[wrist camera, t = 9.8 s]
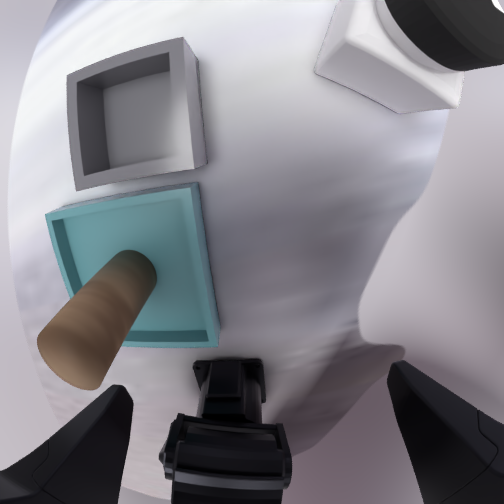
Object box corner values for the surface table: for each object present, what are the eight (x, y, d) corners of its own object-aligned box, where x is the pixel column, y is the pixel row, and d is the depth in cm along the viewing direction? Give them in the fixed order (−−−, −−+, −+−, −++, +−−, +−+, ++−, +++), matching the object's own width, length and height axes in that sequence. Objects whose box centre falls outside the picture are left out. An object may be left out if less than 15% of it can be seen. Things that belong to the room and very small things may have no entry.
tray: (220, 327, 23) (217, 347, 20) (100, 328, 23) (90, 343, 21) (198, 182, 18) (190, 187, 16) (62, 206, 18) (44, 214, 16)
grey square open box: (207, 163, 18) (194, 168, 14) (109, 180, 18) (76, 191, 14) (198, 59, 15) (183, 36, 11) (100, 85, 15) (66, 75, 11)
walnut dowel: (162, 296, 20) (114, 394, 11) (118, 297, 20) (58, 384, 11) (150, 247, 19) (80, 332, 10) (104, 252, 19) (25, 326, 10)
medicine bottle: (399, 116, 16) (527, 111, 5) (311, 73, 15) (392, -8, 4) (416, 45, 14) (521, 7, 3) (336, 2, 13) (404, -87, 2)
